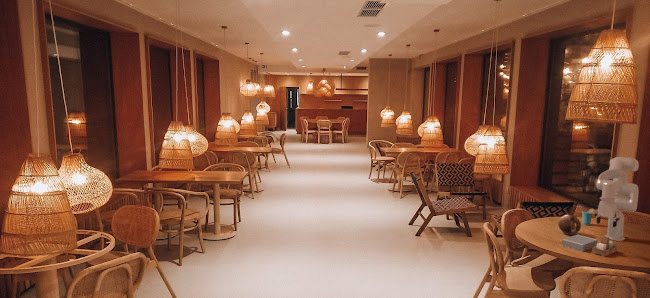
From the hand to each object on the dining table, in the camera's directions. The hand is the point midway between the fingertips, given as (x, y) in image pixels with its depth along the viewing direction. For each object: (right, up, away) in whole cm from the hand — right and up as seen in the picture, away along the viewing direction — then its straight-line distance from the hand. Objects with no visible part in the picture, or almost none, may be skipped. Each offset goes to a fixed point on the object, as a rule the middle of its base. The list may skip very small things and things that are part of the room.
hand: (606, 225), depth 283 cm
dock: (-9, -18, +16) cm, 25 cm away
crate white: (-4, -17, 0) cm, 17 cm away
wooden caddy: (0, -19, +3) cm, 20 cm away
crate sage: (+5, -16, +5) cm, 17 cm away
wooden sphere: (-1, -15, +42) cm, 44 cm away
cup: (+27, -12, +67) cm, 73 cm away
